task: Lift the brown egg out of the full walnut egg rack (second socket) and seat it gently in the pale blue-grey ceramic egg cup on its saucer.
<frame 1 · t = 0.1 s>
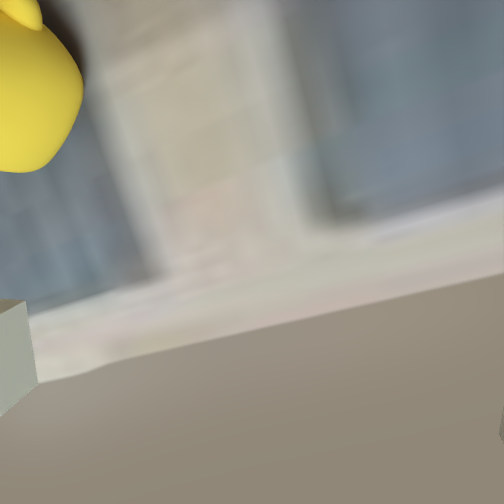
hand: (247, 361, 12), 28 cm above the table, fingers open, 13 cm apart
teapot: (34, 83, 40), on the table
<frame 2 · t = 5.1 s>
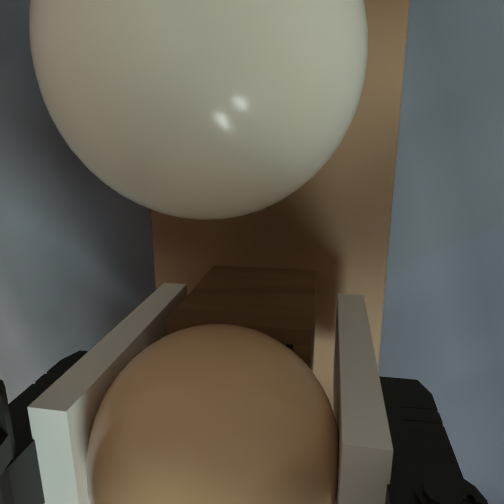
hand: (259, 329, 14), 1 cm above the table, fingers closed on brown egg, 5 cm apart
white egg a: (205, 62, 7), point 7 cm above the table, touching egg rack
egg rack: (265, 400, 16), on the table
brown egg: (216, 447, 9), point 7 cm above the table, touching egg rack, gripper
when the fingers open (3 cm above the table, at t = 10.3 s): brown egg drops 1 cm, resting on egg cup.
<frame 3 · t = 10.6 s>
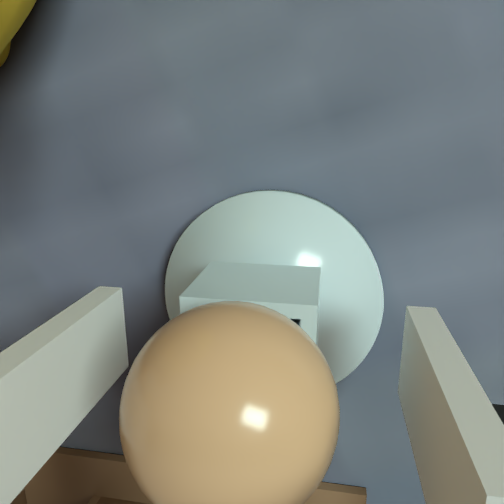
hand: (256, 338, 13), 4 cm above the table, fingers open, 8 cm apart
egg cup: (271, 295, 16), on the table
brown egg: (230, 408, 10), point 7 cm above the table, touching egg cup
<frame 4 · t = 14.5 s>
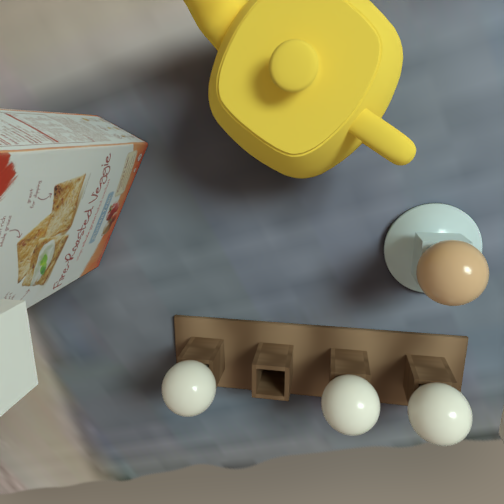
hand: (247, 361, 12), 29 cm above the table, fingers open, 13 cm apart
cracker box: (101, 194, 42), on the table
white egg c: (439, 413, 35), point 7 cm above the table, touching egg rack
white egg a: (189, 387, 38), point 7 cm above the table, touching egg rack
egg rack: (311, 360, 43), on the table
egg cup: (430, 248, 38), on the table
teapot: (298, 81, 37), on the table
brown egg: (451, 272, 31), point 7 cm above the table, touching egg cup
white egg b: (350, 404, 36), point 7 cm above the table, touching egg rack
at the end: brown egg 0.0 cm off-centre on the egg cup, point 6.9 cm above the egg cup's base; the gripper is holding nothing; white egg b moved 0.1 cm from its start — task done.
